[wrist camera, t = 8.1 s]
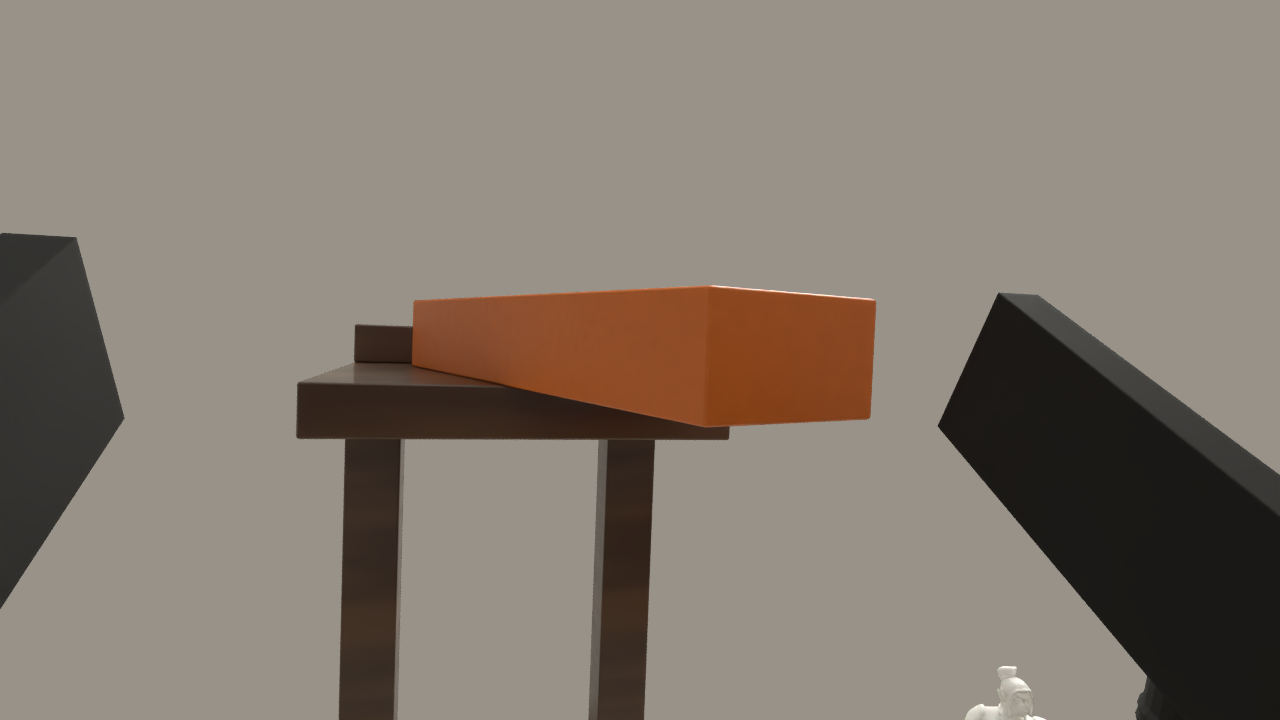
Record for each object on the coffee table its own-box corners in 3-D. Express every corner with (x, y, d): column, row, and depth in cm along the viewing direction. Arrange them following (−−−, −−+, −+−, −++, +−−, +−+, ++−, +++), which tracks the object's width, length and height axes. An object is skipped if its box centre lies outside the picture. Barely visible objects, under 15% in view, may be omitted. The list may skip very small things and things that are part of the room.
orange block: (872, 419, 15) (877, 298, 15) (704, 428, 13) (710, 285, 13) (518, 367, 30) (520, 306, 30) (411, 366, 28) (413, 300, 28)
